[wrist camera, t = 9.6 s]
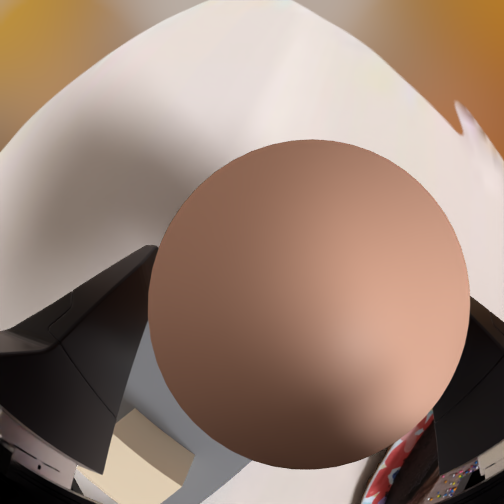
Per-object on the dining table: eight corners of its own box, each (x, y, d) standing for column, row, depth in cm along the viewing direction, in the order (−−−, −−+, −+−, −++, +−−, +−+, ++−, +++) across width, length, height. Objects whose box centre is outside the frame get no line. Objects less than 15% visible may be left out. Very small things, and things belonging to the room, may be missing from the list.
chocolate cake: (440, 553, 11) (459, 574, 5) (285, 529, 15) (292, 578, 8) (559, 385, 15) (589, 388, 9) (478, 270, 19) (530, 257, 12)
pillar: (313, 353, 16) (449, 442, 3) (225, 348, 16) (145, 454, 3) (317, 267, 17) (455, 167, 4) (231, 261, 17) (174, 132, 4)
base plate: (382, 290, 18) (424, 283, 13) (184, 507, 15) (168, 547, 9) (246, 184, 20) (244, 142, 14) (68, 412, 16) (27, 432, 11)
